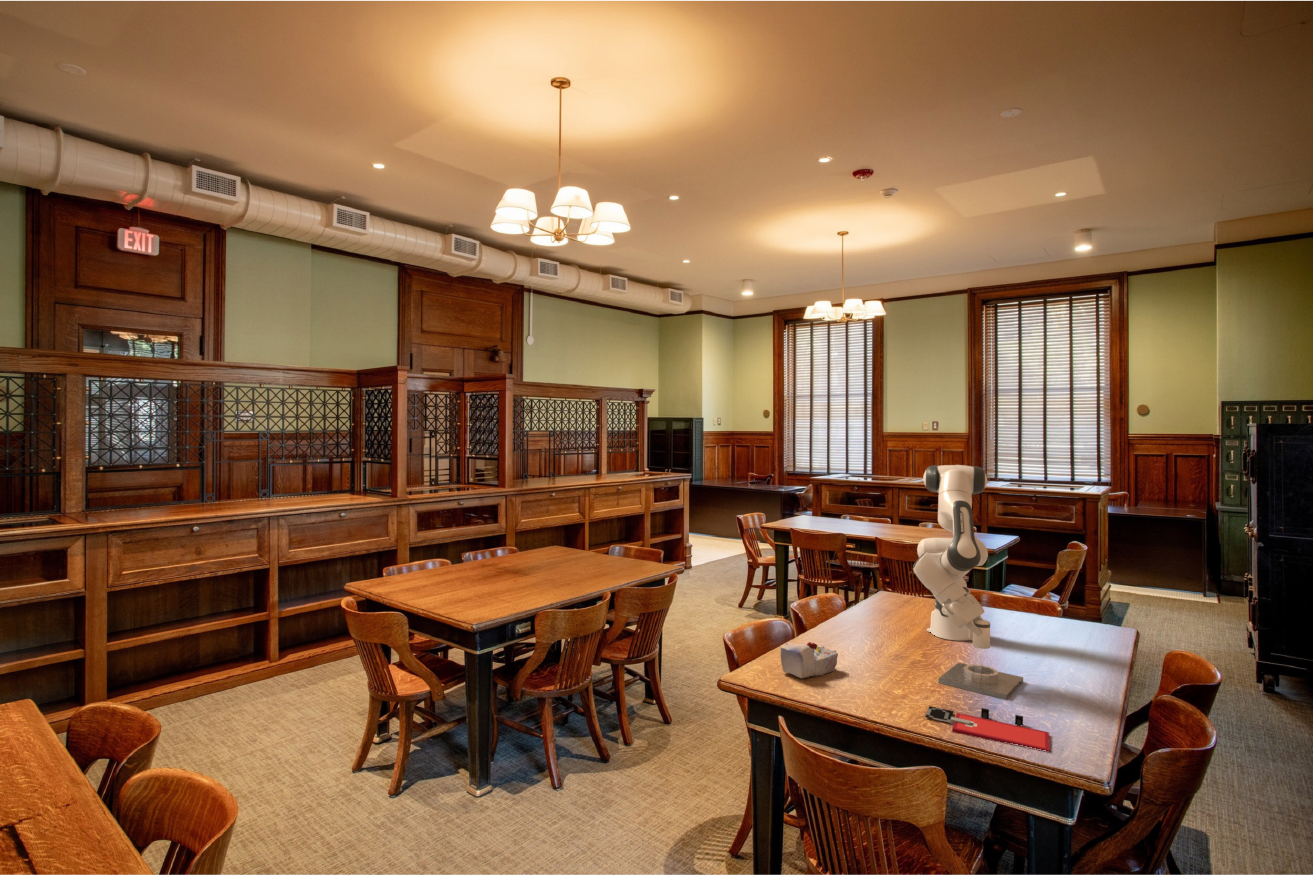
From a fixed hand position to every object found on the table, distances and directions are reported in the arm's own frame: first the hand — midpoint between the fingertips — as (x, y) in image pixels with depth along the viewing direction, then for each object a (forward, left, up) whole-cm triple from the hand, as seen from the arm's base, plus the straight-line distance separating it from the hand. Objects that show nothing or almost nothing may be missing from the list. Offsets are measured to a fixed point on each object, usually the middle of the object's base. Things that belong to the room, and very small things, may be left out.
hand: (983, 632), depth 212 cm
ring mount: (0, -1, -16) cm, 16 cm away
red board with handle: (+35, +10, -17) cm, 40 cm away
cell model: (+30, -46, -17) cm, 57 cm away
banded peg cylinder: (0, -1, -5) cm, 5 cm away
